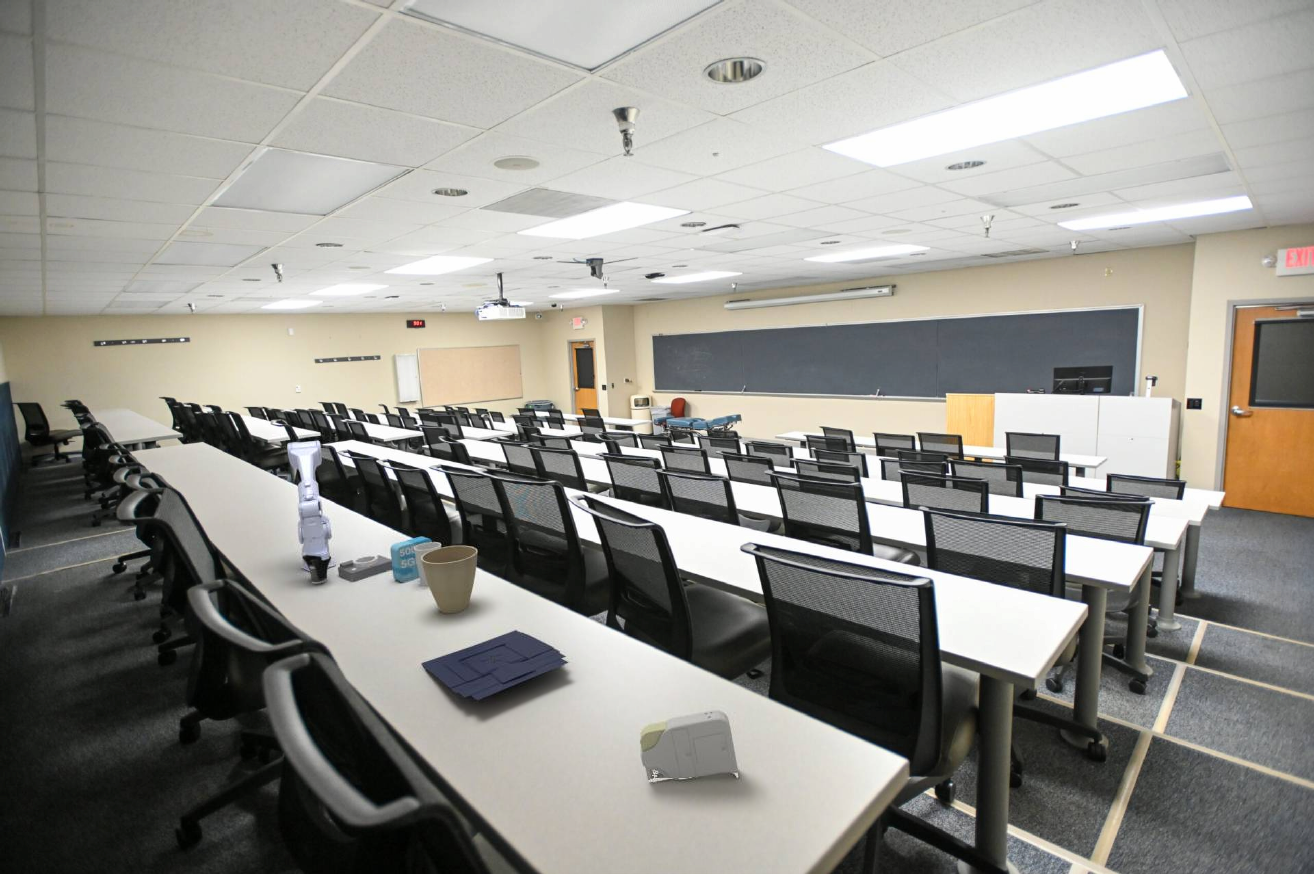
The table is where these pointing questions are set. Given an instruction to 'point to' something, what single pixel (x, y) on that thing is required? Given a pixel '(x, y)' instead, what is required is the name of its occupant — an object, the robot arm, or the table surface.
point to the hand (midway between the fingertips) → (319, 577)
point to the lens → (314, 576)
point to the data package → (406, 559)
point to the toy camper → (689, 746)
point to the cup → (419, 552)
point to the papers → (495, 664)
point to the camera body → (364, 567)
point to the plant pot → (451, 576)
